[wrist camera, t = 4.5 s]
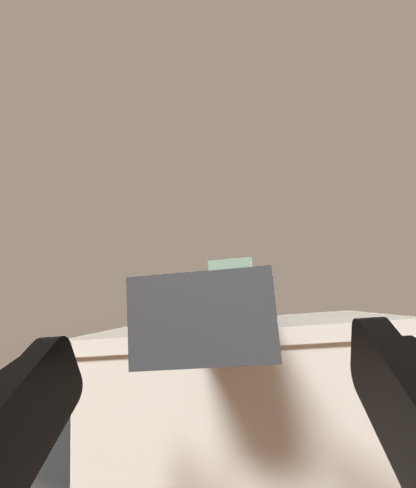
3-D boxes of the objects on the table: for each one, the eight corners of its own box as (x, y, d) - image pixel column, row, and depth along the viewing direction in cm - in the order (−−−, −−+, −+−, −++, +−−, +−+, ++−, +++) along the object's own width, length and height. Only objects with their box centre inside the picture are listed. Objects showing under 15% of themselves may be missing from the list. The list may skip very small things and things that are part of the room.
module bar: (128, 372, 8) (123, 176, 9) (216, 319, 32) (212, 265, 33) (282, 364, 8) (259, 160, 9) (256, 316, 31) (250, 262, 32)
